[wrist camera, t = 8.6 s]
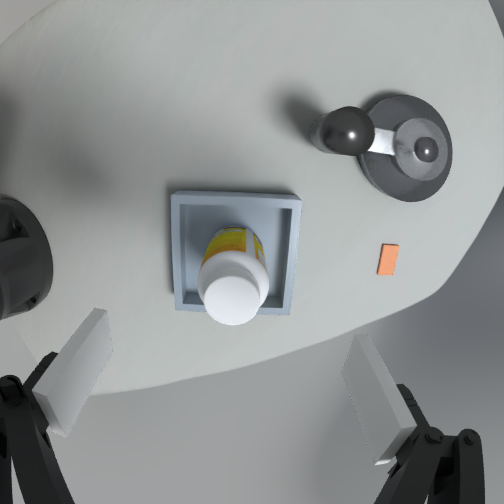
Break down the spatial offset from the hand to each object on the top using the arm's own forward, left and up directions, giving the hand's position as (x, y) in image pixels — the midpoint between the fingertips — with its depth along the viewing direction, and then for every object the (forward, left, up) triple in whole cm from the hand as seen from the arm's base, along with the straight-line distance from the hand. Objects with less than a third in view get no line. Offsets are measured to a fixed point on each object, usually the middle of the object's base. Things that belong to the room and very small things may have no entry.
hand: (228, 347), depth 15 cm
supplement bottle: (0, 0, -16) cm, 16 cm away
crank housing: (+17, +12, -17) cm, 26 cm away
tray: (0, 0, -17) cm, 17 cm away
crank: (+13, +12, -15) cm, 23 cm away
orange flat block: (+17, -1, -17) cm, 24 cm away
